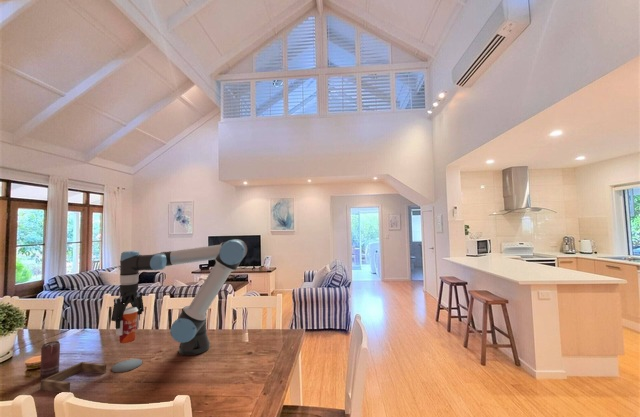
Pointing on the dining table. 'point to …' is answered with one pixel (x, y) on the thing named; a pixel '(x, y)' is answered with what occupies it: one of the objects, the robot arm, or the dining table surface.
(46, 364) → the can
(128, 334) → the coffee cup
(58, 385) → the u-shaped wooden bracket
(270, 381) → the dining table surface
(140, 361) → the coaster
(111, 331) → the dining table surface
